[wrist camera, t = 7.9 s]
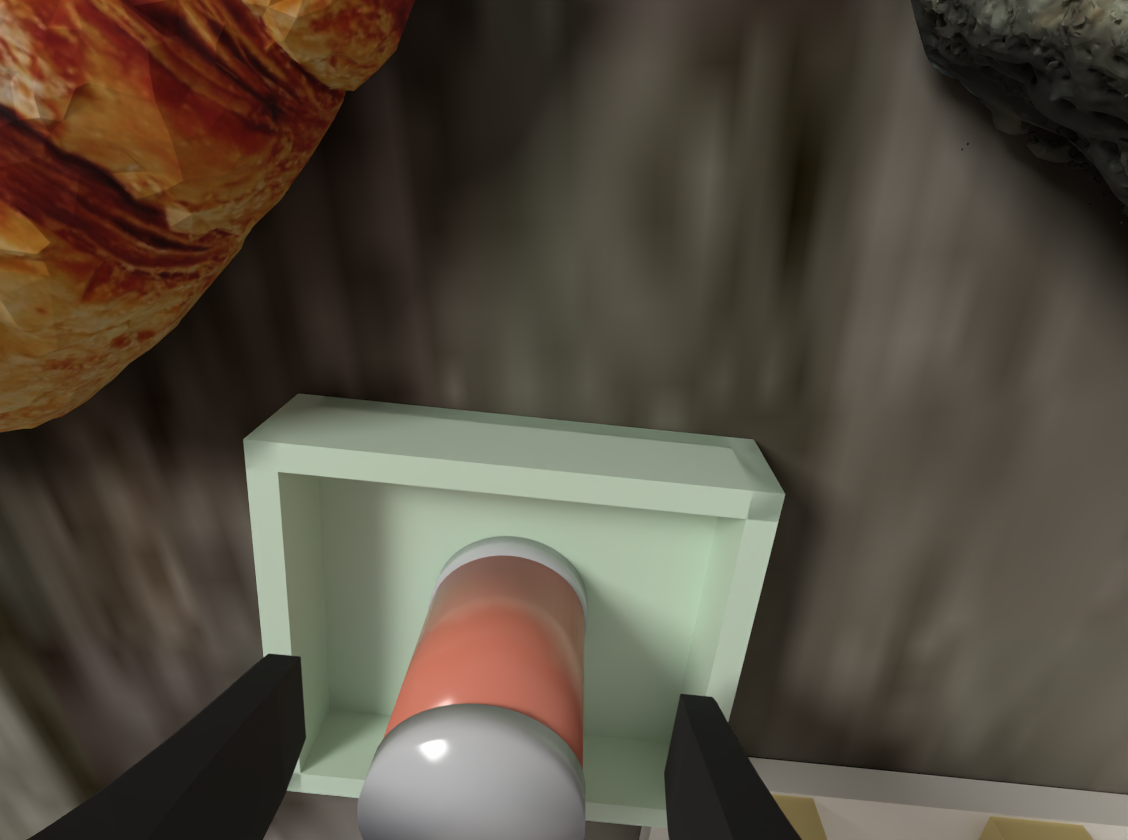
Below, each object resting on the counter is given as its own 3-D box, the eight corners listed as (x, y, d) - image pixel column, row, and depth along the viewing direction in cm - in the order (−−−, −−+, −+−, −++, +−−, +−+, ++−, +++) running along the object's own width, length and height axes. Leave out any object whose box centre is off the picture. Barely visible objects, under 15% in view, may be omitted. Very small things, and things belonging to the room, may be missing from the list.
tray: (686, 743, 18) (700, 831, 16) (316, 707, 18) (276, 789, 16) (754, 439, 15) (785, 494, 12) (298, 393, 14) (243, 439, 12)
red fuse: (580, 667, 16) (576, 909, 11) (434, 655, 16) (362, 891, 11) (593, 542, 15) (594, 750, 10) (433, 530, 15) (350, 730, 10)
